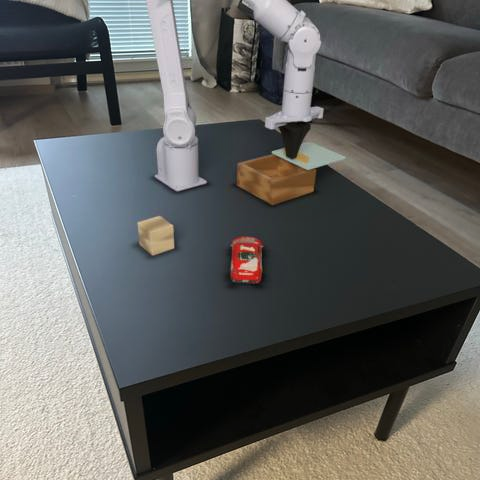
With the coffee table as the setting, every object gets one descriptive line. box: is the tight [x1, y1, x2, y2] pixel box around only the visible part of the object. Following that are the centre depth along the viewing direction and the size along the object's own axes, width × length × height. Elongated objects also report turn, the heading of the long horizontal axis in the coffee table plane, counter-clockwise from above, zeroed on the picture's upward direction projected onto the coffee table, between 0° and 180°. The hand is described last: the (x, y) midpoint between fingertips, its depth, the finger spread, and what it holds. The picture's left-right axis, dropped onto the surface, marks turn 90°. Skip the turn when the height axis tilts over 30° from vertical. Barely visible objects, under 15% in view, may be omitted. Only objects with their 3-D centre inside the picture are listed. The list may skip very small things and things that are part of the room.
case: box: [236, 153, 317, 206], centre depth 108 cm, size 12×12×5 cm
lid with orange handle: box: [271, 141, 347, 170], centre depth 111 cm, size 12×12×2 cm
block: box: [137, 215, 175, 256], centre depth 87 cm, size 4×4×4 cm
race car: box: [230, 235, 264, 285], centre depth 84 cm, size 13×5×4 cm, turn 177°
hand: (291, 157), depth 108 cm, fingers closed
